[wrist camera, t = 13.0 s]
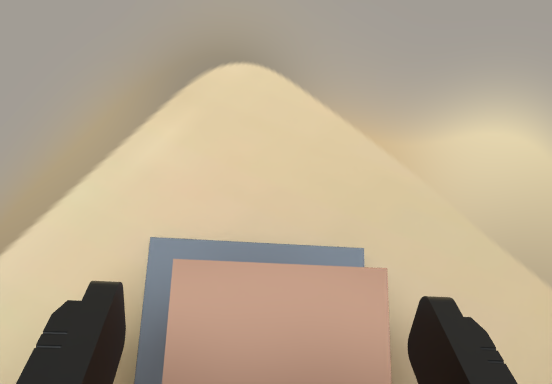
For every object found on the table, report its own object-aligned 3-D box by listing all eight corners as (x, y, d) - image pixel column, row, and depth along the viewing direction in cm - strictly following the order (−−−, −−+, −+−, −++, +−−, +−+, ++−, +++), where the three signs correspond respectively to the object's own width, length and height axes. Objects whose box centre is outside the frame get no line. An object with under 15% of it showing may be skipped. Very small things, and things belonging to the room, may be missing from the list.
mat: (152, 239, 20) (150, 237, 20) (360, 250, 21) (363, 248, 21) (126, 480, 18) (123, 484, 17) (364, 482, 19) (368, 486, 18)
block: (197, 296, 19) (173, 258, 10) (308, 301, 20) (387, 268, 10) (188, 419, 18) (149, 511, 9) (307, 420, 19) (396, 510, 9)
